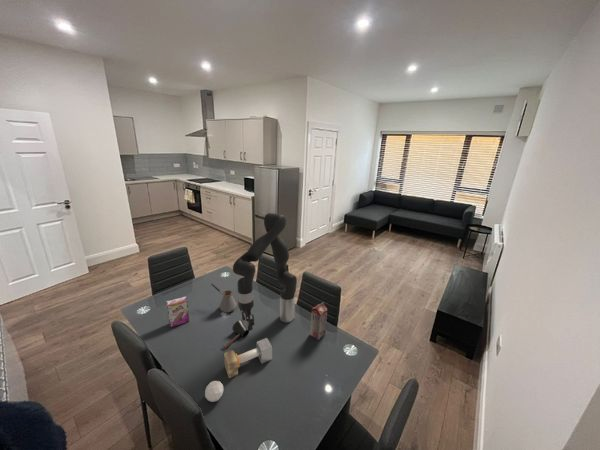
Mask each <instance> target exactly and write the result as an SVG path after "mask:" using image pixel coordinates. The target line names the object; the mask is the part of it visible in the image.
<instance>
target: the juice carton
mask: <svg viewBox="0 0 600 450" xmlns="http://www.w3.org/2000/svg"><path fill="white" fill-rule="evenodd" d="M310 316H311V317H310V327H309V329H310V331H309V335H310V336H311V337H313V338H314V339H316V340H317V341H319V340H320V339H322V338H323V337H324V336H326V329H327V318H328V308H327V306H326V305H325V304H324V301H323V302H321V303H318V304H317V305H315V306H314V307H312V308H311V315H310Z"/></svg>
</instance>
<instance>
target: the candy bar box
mask: <svg viewBox="0 0 600 450" xmlns="http://www.w3.org/2000/svg"><path fill="white" fill-rule="evenodd" d="M165 302H166V309H167V315H168V323H169V324H168V325H169V328H173V327H177V326H180V325H183V324H186V323H189V322H190V317H189V315H190V314H189V306H188V299H187V296H182V297H179V298H174V299H171V300H166V301H165Z"/></svg>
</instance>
